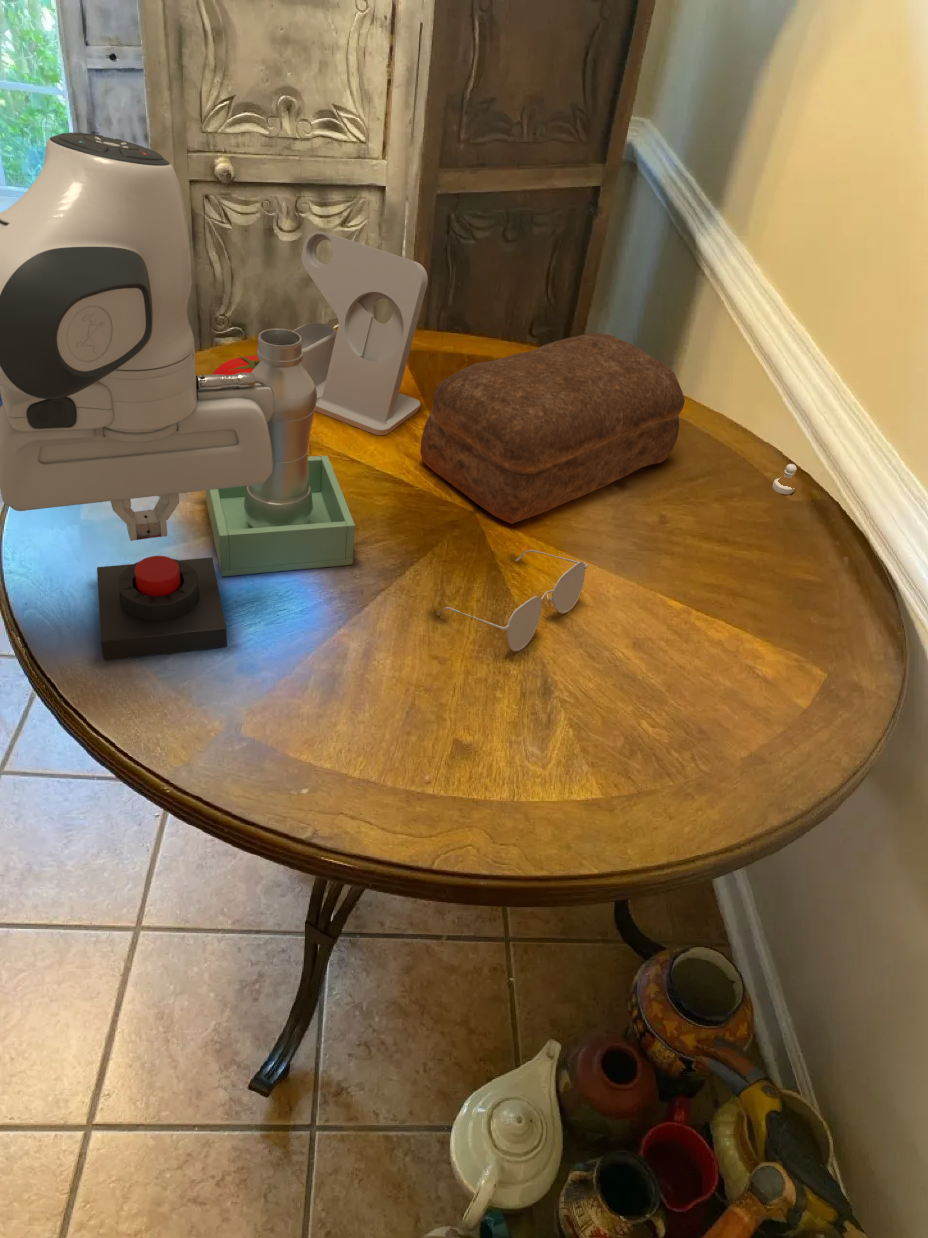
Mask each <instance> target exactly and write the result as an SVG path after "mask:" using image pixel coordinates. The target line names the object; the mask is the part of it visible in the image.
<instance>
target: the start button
mask: <svg viewBox="0 0 928 1238" xmlns="http://www.w3.org/2000/svg"><path fill="white" fill-rule="evenodd" d="M174 559H175V558H171V557H169V556H165V555H151V556H148V557H145V558H143V559H141V560H139V561H140V562H139V561H137V562H138V564H137V565H136V567H135V577H136V585H137V589H138V590H139V592H140V593H142V594H143V595H147V596H152V597H157V596H167V595H169V594H171V593H174V592H176V591H177V590H178V589H179V587H180V584H181V582H180V570H179V565H178V563H177V562H176V561H175V560H174Z"/></svg>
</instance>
